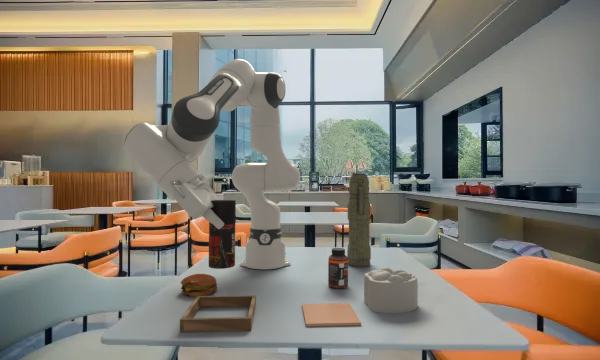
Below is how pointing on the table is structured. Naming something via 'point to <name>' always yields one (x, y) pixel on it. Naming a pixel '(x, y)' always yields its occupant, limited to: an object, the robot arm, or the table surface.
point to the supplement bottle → (338, 269)
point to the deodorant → (222, 235)
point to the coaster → (330, 314)
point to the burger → (198, 285)
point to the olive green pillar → (359, 221)
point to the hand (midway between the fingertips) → (225, 224)
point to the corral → (218, 323)
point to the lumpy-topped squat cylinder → (390, 291)
